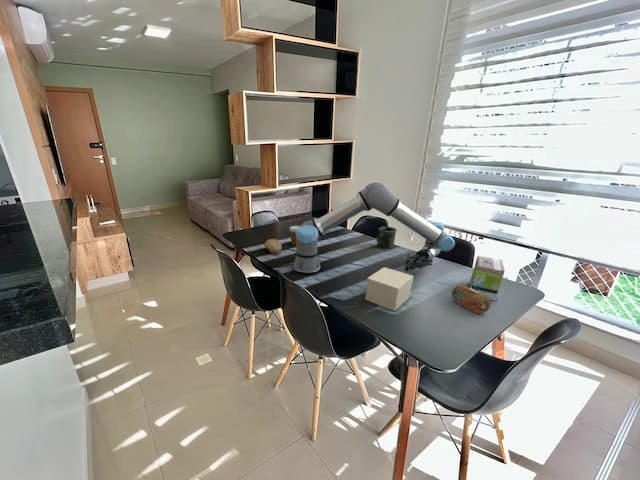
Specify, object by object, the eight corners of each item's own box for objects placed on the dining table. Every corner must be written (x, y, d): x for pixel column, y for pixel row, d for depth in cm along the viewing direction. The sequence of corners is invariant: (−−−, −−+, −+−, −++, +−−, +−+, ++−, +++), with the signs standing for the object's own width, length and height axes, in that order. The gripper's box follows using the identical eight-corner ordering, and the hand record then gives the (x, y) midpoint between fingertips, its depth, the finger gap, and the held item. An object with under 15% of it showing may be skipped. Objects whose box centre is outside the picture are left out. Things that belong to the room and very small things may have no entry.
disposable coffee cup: (302, 246, 194) (302, 229, 189) (288, 246, 196) (288, 229, 191) (303, 242, 202) (304, 225, 198) (290, 241, 204) (290, 225, 200)
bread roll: (274, 246, 196) (274, 235, 193) (285, 253, 183) (285, 241, 180) (261, 248, 191) (261, 237, 188) (271, 256, 179) (271, 244, 176)
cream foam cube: (381, 287, 140) (384, 267, 136) (409, 297, 131) (413, 275, 127) (365, 299, 130) (367, 278, 126) (394, 311, 121) (398, 288, 117)
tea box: (496, 301, 126) (505, 271, 121) (469, 295, 131) (476, 266, 126) (494, 287, 138) (502, 258, 133) (469, 282, 143) (476, 254, 138)
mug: (397, 247, 190) (400, 229, 186) (382, 251, 184) (384, 233, 179) (384, 242, 199) (386, 225, 195) (369, 246, 192) (371, 229, 188)
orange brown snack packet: (450, 299, 128) (454, 283, 125) (454, 298, 129) (459, 281, 126) (483, 317, 115) (489, 299, 112) (488, 315, 117) (494, 297, 113)
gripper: (436, 265, 152) (419, 280, 136) (411, 258, 160) (392, 271, 145) (439, 252, 149) (421, 265, 134) (413, 246, 158) (394, 258, 142)
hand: (406, 268), depth 139 cm, fingers closed
